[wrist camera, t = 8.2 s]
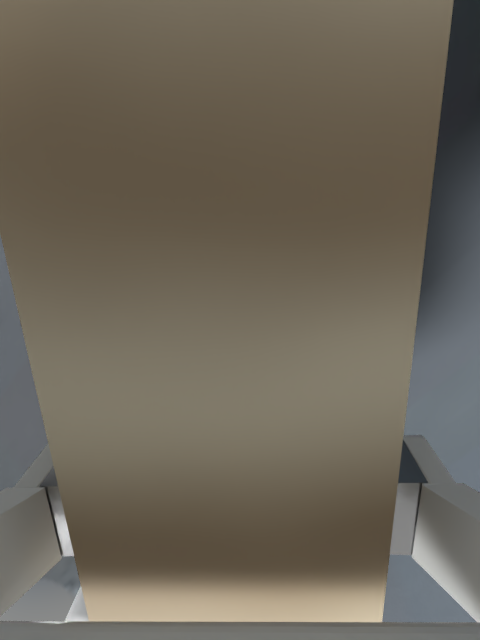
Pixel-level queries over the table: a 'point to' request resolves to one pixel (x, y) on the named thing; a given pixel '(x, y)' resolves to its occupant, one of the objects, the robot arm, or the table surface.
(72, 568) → the table surface
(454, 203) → the table surface
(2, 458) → the table surface
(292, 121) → the plank
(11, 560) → the robot arm
